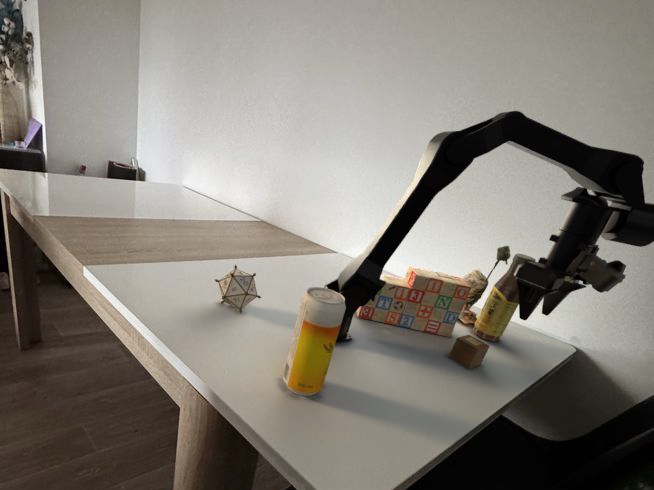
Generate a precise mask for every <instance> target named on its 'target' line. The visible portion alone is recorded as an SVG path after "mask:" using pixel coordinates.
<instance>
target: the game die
mask: <svg viewBox="0 0 654 490" xmlns="http://www.w3.org/2000/svg"><path fill="white" fill-rule="evenodd" d="M233 268H234V269H233V270H232V271H230V272H229V273H228V274H226V275H225V276H223V277H221V278H220V279H217V278H216V279H215V278H214V282H216V283H218V287H219V291H220V294H221V299H222V301H220V305H223V304H228V305H230V306H232V307H234V308H235V309H238V312H239V313H240V314H242V312H243V308H244V307H246V306H248V304H250V303H251V302H252V301H254V300H255V299H257V298H258V299H262V297H261V295H258V291H257V287H256V281H255V277H256V276H257V273H256V272H254V273H253V274H250V273H248V272H245V271H243V270H240V269H238V267H237V265H236V264H234V266H233Z"/></svg>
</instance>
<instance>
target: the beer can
mask: <svg viewBox="0 0 654 490" xmlns="http://www.w3.org/2000/svg"><path fill="white" fill-rule="evenodd" d="M300 300H301V301H300V305H299V308H298V312H297V316H296V317H297V318H296V322H295V326H294V331H293V333H292V338H291V343H290V346H289V351H288V354H287V359H286V363H285V369H284V372H283V377H282V379H283V382H284V383H285V385H286V387H287V388H288V390H289V391H291V392H292V393H294V394H296V395H299V396H303V397H304V396H305V397H308V396H314V395H315V394H317V393H319V392H320V391H321V390H323V387H324V384H325V381H326V378H327V374H328V371H329V367H330V364H331V360H332V357H333V353H334V350H335V347H336V340H337V336H338V333H339V330H340V326H341V323H342V319H343V316H344V313H345V309H346V306H345V298H344V297H343V296H342V295H341V294H340V293H338V292H336V291H333V290H330V289H326V288H324V287H319V286H313V287H308V288H307V289H306V292H305V293H304V294H303V295H302V296H301V299H300Z"/></svg>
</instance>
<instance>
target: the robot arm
mask: <svg viewBox="0 0 654 490" xmlns="http://www.w3.org/2000/svg"><path fill="white" fill-rule="evenodd" d="M504 144H507V145H509V146H512V147H514V148H516V149H517V150H520V151H523V152H524V153H527V154H529V155H531V156H533V157H535V158H538V159H540V160H543V161H544V162H547V163H549V164H551V165H554V166H556V167H558V168H561V169H562V170H563V171H564V172H566V173H567V175H568V176H569V177H570V178H571V179H572V180H573V181H574V182H576V183H577V185H579V186H577V187H575V188H574V189H572V190H571V191H567V192H565V193H563V194H561V195H560V199H561V200H562V201H566V202H571V205H570V207H569V209H568V211H567V212H566V214H565V217H564V218H563V221H562V222H561V224H560V226H559V229H558V231H557V233H556V234H551V235H550V237H549V239H548V241H550V242H551V244H550V246H549V248H548V250H547V252H546V254H545V256H544V257H543V256H542V257H541V256H540V257H539V258H538V261H532V262H524V263H522V264H519V265H518V267H517V269H516V271H515V273H514V276H515V277H516V281H517V284H518V294H519V305H518V312H519V313H518V314H519V316H518V317H519V319H520V320H522V321H527V320H528V319H529V318H530V317H531V315H532V314H533V313H534V311H535V310H536V309H537V308H538V306H539V305H540V303H541V302H542V306H541V314H542V315H544V316H547V317H548V316H549V315H551V314H552V312H553V311H554V310H556V308H557V307H558V306H559V305H560V304H561V303H562V302H563V301H564V300H565V299H566V298H567V297H568V296H569V295H570V294H571V293H572V292H576V291H579V290H583V289H585V288H587V286H589V285H591V288H592V289H593V290H595V291H596V292H598V293H605V292H607V293H608V292H609V291H611V290H612V289H613V288H615V287H616V286H617V285H618V284H621V283H623V280H625V278H626V276H627V275H626V274H624V272H625V270H626V267H627V265H626V264H625V263H624V262H622V261H621V260H619V259H617V260H612V261H609V262H607V260H606V259H602V257H599V256H598V255H597V254H598V252H599V250H600V247H599V246H600V245H599V244H597V243H598V241H599V239H600V237H601V238H602V239H603V240H605V241H610V242H613V243H614V242H615V243H619V244H624V245H627V246H633V247H637V248H638V247H639V248H643V247H647V246H649V245H650V244H653V242H654V203H651V202H646V198H645V190H644V181H643V173H644V171H645V169H644V167H645V160H644V159H643V158H642V157H640V156H639V155H637V154H633V153H629V152H625V151H619V150H614V149H608V148H602V147H598V146H593V145H589V144H587V143H585V142H583V141H581V140H579V139H576V138H574V137H571V136H569V135H567V134H565V133H562V132H561V131H559V130H556V129H554V128H552V127H549V126H548V125H545V124H543V123H541V122H539V121H537V120H535V119H532V118H531V117H528V116H527V115H525V114H524V113H523V112H522V111H520V110H519V111H518V110H510V111H503V112H499V113H498V114H495V116H493V117H491V118H488V119H486V120H484V121H480V122H479V123H476V124H473V125H471V126H468V127H465V128H463V129H460V130H446V131H442V132H439V133H436V134H435V135H434V136H433V137H432V138H431V139H430V140H429V142H428V144H427V145H426V147H425V150H424V152H423V154H422V156H421V158H420V160H419V163H418V165H417V168H416V171H415V175H414V178H413V180H412V182H411V183H410V184H409V186H408V188H407V189H406V191H405V192H404V194H402V196H401V197H400V199H399V201H398V202H397V204H396V205H395V207H394V208H393V209H392V211H390V214H389V215H388V216H387V218H386V219H385V221H384V222H383V224H382V225H381V227H380V228H379V230H378V231H377V232H376V234H375V236H374V237H373V238H372V240H371V241H370V243H369V245H368V246H367V247H366V249H365V250H364V251H363V252H362V253H360V254H359V255H358V256H357V257H355V258H354V259H352V261H350V263H349V264H347V265H346V267H345V268H343V270H342V271H341V272H340V273H339V275H338V277H337V278H335V279H334V280H332V281H330V282H328V283H327V284H326V283H325V284H324V286H323V288H326V289H330V290H333V291H336V292H338V293H340V294H341V295H342V296H343V297H344V298H345V306H346V309H345V313H344V316H343V319H342V323H341V326H340V330H339V333H338V336H337V340H336V343H341V342H342V343H343V342H347V341H348V342H349V341H352V339H353V337H352V335H351V334H349V331H350V328H351V324H352V321H353V318H354V316H355V315H354V314H356V313H357V312H356V311H357V310H358V308H359V307H361V306H364V305H366V304H367V303H368V302H369V301H370V299H371V300H372V301H374V299H375V296H376V294H377V293H378V292H379V291H380V290H381V289H382V288H383V287H384V285H385V284H386V281H385V279H384V277H383V275H382V274H383V271H384V268H385V266H386V264H387V263H388V262H389V260H390V259H391V258H392V256H393V255H394V254H395V252H396V251H397V250H398V248H399V247H400V245H401V244H402V243H403V242H404V240H405V238H406V237H407V235H409V233H410V231H411V230H412V229H413V227H414V226H415V224H416V223H417V222H418V221H419V219H420V218H421V216H422V215H423V213H424V212H425V211H426V210H427V208H428V206H429V205H430V204H431V202H432V201H433V200H434V199H435V197H436V196H437V195H438V194H439V193H440V192H441V191H442V190H444V189H445V188H447V187H448V186H449V185H451V184H452V183H453V182H454V181H456V180H457V179H458V177H460V176H461V174H462V173H464V172H465V171H466V170H467V169H468V168H469V166H470V165H472V163H473V162H474V160H475V159H476V158H479V157H482V156H483V155H486V154H489V153H490V152H492V151H493V150H495V149H497V148H499V147H500V146H502V145H504ZM589 191H591V192H592V193H593V194H590V193H589ZM609 202H611V203H610V205H609ZM580 282H582V283H580ZM336 343H335V344H336Z"/></svg>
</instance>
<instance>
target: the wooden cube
mask: <svg viewBox="0 0 654 490" xmlns="http://www.w3.org/2000/svg"><path fill="white" fill-rule="evenodd" d="M490 348H491V345H489V344H487V343H486V342H484V341H482V340H480V339H479V338H476V337H474V336H473V335H471V334H466V335H461V336H458V337H456V339H455V341H454V343H453V345H452V348H451V350H450V351H449V355H448V358H450V359H451V360H453V361H454V362H456V363H458V364H459V365H461V366H463V367H465V368H466V369H467V370H469V369H472V368H476V367H478V366H481V365H482V363H483V361H484V359H485V357H486V355H487V353H488V351H489V349H490Z"/></svg>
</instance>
